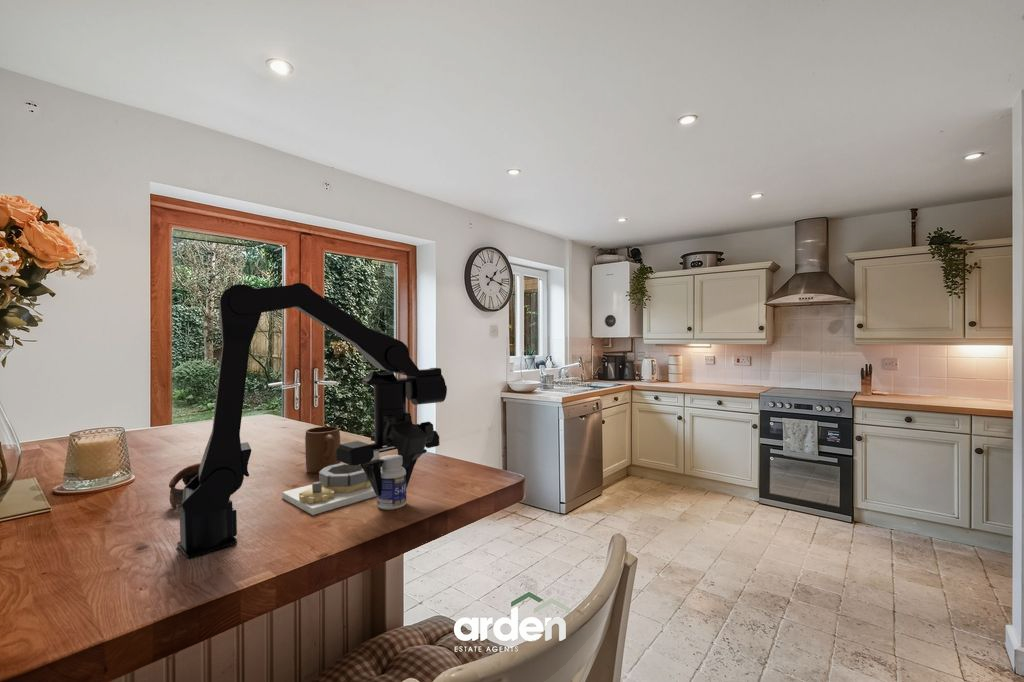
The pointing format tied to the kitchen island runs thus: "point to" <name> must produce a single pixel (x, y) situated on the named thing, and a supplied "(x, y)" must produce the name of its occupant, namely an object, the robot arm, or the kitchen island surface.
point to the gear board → (332, 489)
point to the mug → (321, 448)
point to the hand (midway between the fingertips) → (391, 491)
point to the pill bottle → (392, 483)
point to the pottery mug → (187, 476)
